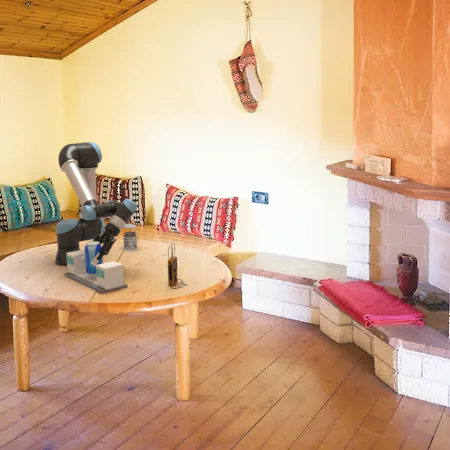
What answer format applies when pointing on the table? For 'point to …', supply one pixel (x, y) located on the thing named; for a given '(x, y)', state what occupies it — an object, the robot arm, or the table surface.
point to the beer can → (92, 256)
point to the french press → (130, 238)
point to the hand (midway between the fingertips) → (88, 263)
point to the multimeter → (172, 269)
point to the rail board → (105, 273)
